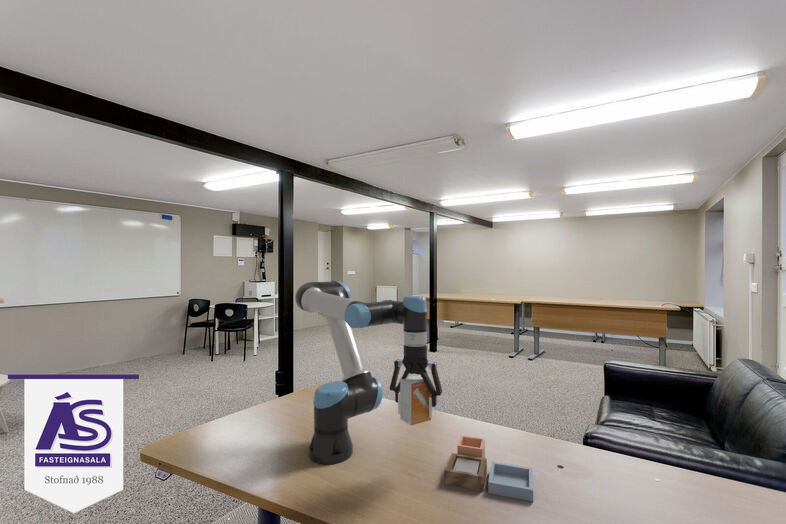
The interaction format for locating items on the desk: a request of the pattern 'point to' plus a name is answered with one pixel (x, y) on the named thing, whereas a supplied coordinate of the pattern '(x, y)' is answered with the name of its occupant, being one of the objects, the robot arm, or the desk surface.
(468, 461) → the plate
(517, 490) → the tray
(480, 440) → the pink open box
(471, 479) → the brown wooden square tray
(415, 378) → the small box
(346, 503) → the desk surface
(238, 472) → the desk surface
